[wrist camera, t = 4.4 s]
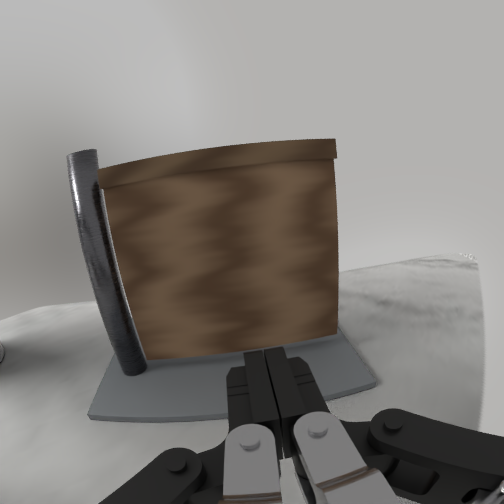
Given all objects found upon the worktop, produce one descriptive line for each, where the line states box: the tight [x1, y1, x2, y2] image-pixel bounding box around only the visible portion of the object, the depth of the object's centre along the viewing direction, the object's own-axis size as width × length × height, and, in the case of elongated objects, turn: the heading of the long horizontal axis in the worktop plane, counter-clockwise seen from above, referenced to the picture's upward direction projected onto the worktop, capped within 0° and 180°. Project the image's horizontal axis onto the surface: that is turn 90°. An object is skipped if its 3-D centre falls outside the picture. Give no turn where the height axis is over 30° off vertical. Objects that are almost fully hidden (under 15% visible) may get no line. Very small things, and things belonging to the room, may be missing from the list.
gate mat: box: [87, 318, 376, 422], centre depth 26 cm, size 22×18×1 cm
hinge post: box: [67, 149, 147, 376], centre depth 20 cm, size 2×2×19 cm
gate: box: [97, 139, 339, 360], centre depth 21 cm, size 16×2×15 cm, turn 96°
